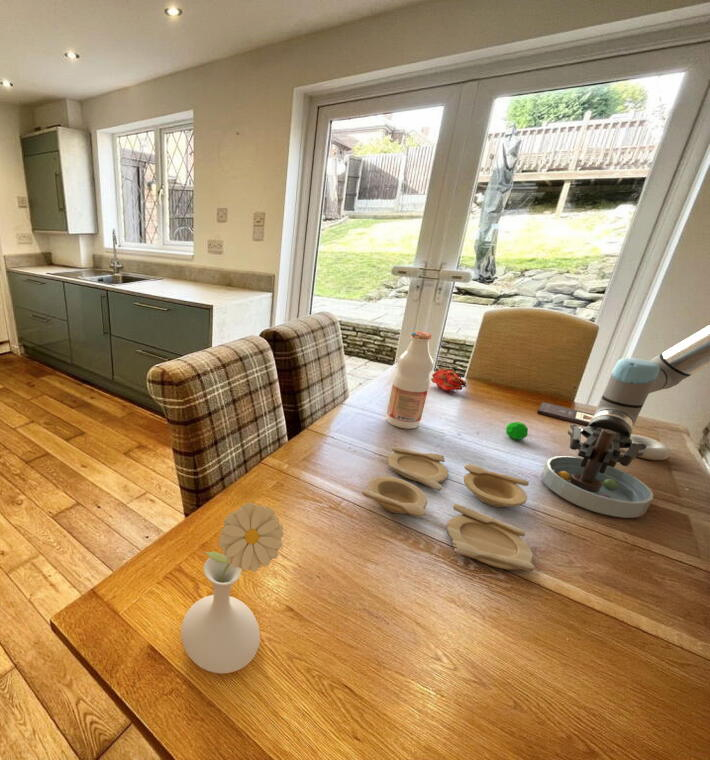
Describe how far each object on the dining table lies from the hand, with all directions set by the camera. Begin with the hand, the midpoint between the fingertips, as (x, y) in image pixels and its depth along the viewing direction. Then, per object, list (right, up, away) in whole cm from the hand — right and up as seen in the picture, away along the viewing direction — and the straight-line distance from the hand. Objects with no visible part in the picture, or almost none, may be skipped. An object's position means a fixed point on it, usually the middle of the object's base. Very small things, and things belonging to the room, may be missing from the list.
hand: (594, 464), depth 83 cm
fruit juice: (-22, +5, +38) cm, 44 cm away
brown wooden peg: (+4, -6, +6) cm, 10 cm away
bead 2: (+10, -6, +6) cm, 13 cm away
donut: (+35, -2, +22) cm, 41 cm away
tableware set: (-29, -9, +3) cm, 31 cm away
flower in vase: (-79, -20, -25) cm, 86 cm away
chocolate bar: (+35, +6, +41) cm, 54 cm away
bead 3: (+3, -8, +1) cm, 9 cm away
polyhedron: (+6, +1, +29) cm, 30 cm away
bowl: (+5, -8, +6) cm, 11 cm away
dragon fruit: (+7, +14, +61) cm, 63 cm away
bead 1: (+2, -5, +9) cm, 10 cm away
